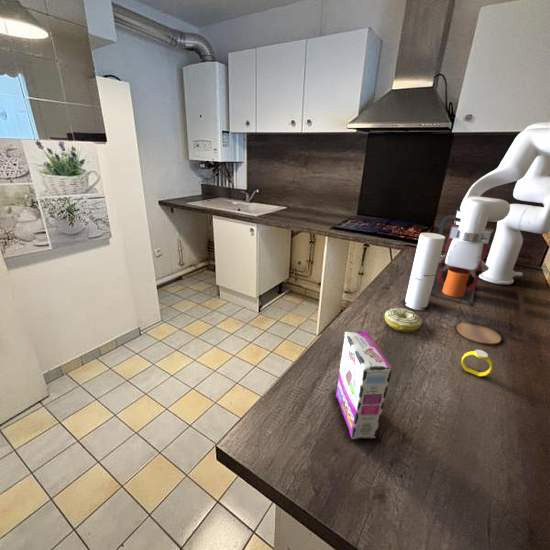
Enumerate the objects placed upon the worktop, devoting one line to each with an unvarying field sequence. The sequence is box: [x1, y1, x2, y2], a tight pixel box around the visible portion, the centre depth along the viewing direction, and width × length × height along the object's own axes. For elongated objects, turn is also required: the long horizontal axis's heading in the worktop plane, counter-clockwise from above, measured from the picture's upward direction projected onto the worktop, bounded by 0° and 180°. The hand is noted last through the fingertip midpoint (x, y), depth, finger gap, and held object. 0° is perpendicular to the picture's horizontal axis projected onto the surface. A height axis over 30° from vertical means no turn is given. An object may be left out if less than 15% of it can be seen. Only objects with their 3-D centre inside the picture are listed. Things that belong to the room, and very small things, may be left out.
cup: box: [442, 267, 471, 297], centre depth 107 cm, size 7×7×9 cm
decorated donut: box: [384, 307, 423, 333], centre depth 89 cm, size 10×11×4 cm
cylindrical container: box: [404, 232, 446, 311], centre depth 97 cm, size 7×7×25 cm
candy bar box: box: [335, 330, 393, 440], centre depth 55 cm, size 11×5×16 cm, turn 5°
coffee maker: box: [431, 223, 494, 304], centre depth 108 cm, size 18×13×24 cm
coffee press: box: [437, 204, 462, 247], centre depth 143 cm, size 17×16×30 cm
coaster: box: [456, 321, 502, 346], centre depth 86 cm, size 11×11×1 cm
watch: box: [461, 349, 493, 377], centre depth 69 cm, size 6×3×6 cm, turn 53°
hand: (455, 282), depth 107 cm, fingers closed on cup, 7 cm apart
